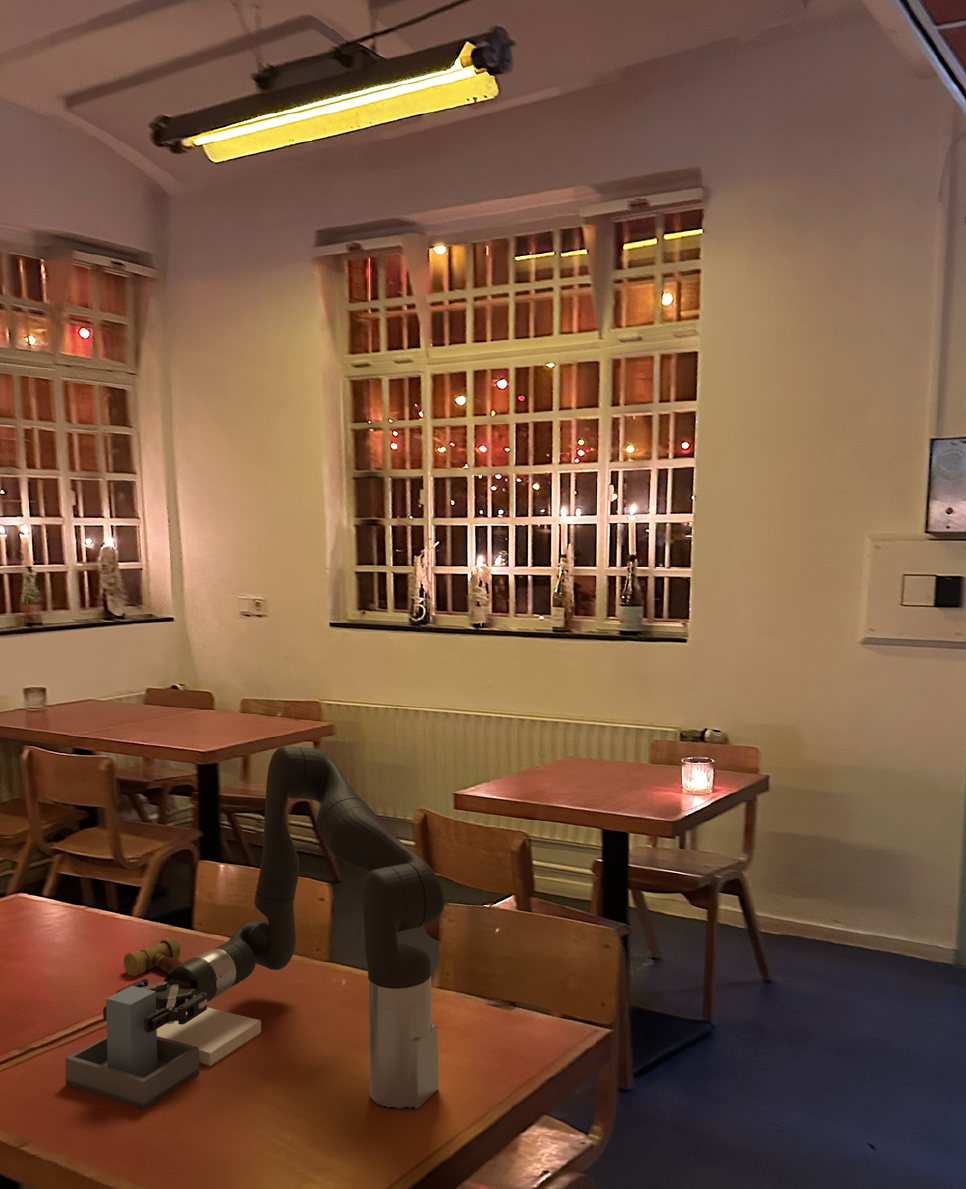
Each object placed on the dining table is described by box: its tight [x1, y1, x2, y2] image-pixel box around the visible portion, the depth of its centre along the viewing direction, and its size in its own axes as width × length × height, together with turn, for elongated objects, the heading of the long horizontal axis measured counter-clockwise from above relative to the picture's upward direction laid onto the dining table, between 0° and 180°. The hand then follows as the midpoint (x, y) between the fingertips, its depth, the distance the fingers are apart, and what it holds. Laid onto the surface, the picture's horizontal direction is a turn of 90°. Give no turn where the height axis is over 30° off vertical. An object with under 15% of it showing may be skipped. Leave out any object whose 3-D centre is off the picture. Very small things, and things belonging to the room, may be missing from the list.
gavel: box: [123, 936, 183, 977], centre depth 182 cm, size 21×5×10 cm
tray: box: [64, 1035, 200, 1110], centre depth 144 cm, size 16×11×4 cm
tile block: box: [105, 986, 157, 1078], centre depth 144 cm, size 5×5×12 cm
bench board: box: [157, 1006, 262, 1067], centre depth 157 cm, size 16×12×2 cm
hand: (125, 1020), depth 143 cm, fingers open, 8 cm apart
